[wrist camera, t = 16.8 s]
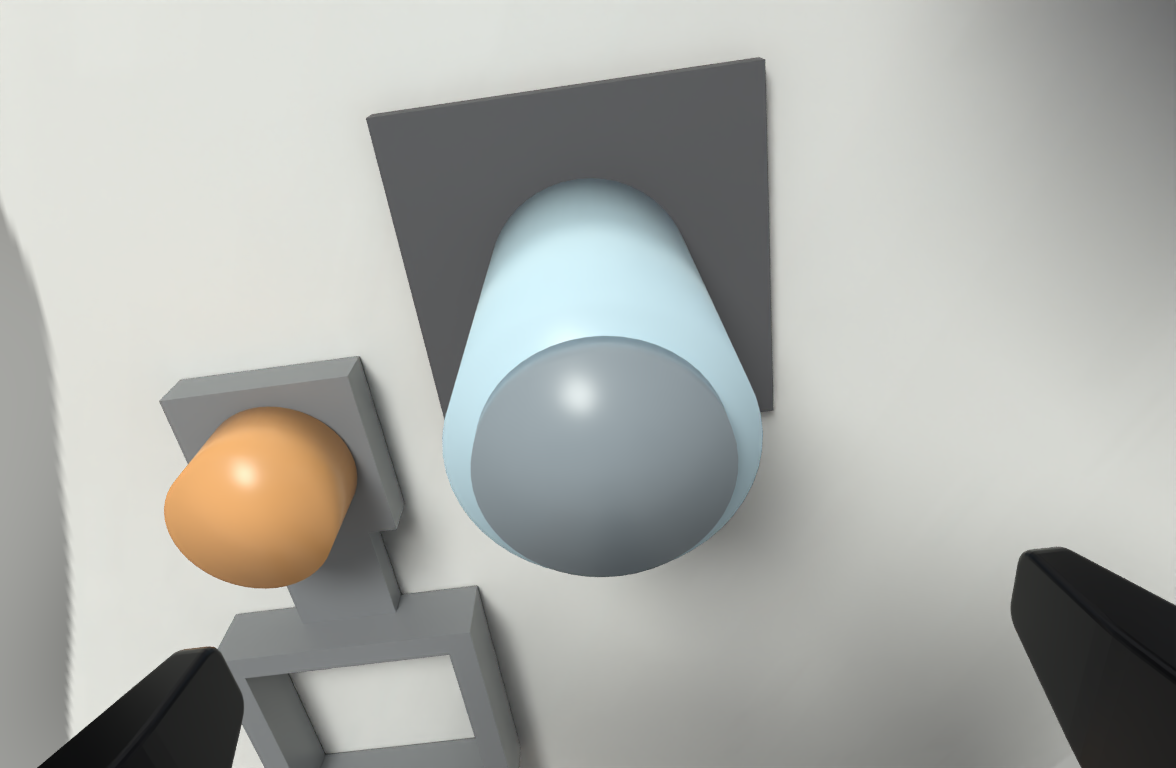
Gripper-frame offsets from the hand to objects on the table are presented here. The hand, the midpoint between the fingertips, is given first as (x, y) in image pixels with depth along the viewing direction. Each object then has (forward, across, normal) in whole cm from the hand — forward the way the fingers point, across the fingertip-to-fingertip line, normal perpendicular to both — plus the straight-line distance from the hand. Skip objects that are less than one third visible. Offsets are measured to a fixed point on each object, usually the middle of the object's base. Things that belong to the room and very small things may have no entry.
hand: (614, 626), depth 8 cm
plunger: (+12, +9, +4) cm, 16 cm away
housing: (+12, +9, +14) cm, 21 cm away
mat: (+12, 0, 0) cm, 12 cm away
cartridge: (+12, 0, 0) cm, 12 cm away
